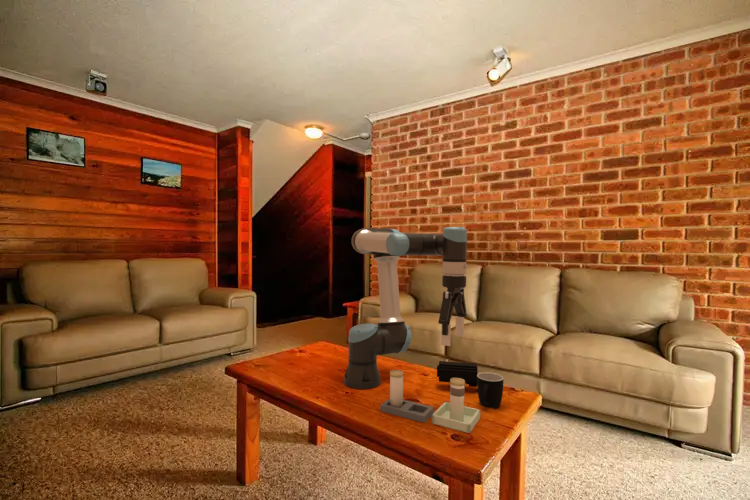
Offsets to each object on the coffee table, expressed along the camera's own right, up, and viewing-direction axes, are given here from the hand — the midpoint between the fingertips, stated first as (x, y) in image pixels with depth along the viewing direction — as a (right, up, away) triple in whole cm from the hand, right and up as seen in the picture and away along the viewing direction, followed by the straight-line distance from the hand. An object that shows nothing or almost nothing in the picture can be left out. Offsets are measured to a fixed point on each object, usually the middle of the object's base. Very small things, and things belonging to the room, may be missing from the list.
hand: (452, 340), depth 117 cm
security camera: (+8, -26, +25) cm, 37 cm away
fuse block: (-15, -25, +4) cm, 29 cm away
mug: (+15, -26, +10) cm, 31 cm away
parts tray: (+1, -25, -2) cm, 26 cm away
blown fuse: (+1, -25, -2) cm, 25 cm away
